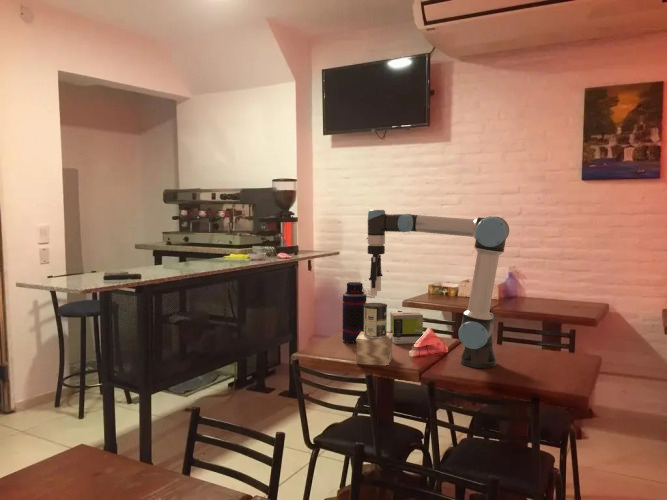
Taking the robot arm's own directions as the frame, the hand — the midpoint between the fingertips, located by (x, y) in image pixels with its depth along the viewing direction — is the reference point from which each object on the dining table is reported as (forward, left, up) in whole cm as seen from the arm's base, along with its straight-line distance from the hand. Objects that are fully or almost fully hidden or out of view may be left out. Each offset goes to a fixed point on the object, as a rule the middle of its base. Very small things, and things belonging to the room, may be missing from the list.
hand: (375, 293), depth 248 cm
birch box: (0, 0, -30) cm, 30 cm away
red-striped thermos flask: (+15, -34, -30) cm, 48 cm away
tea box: (-11, -39, -30) cm, 51 cm away
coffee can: (0, 0, -19) cm, 19 cm away
